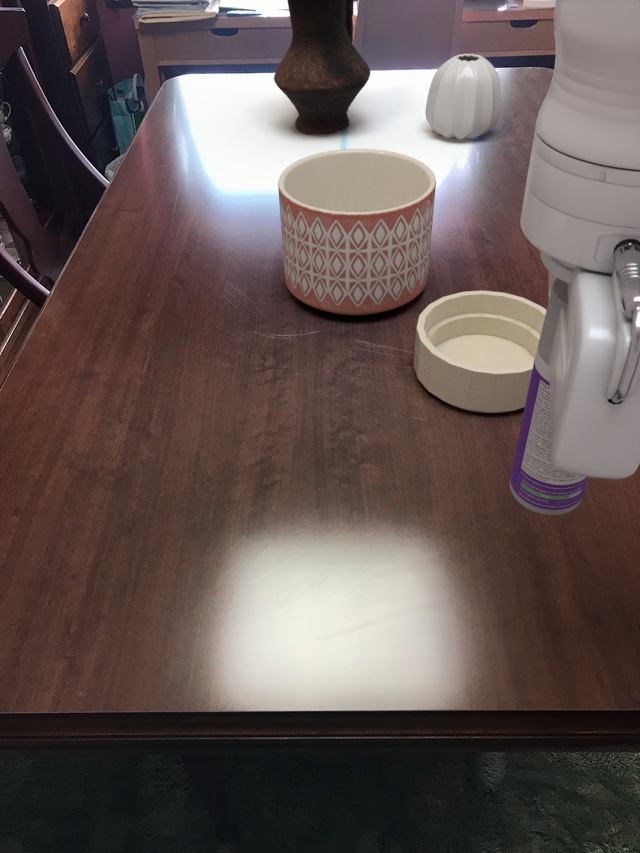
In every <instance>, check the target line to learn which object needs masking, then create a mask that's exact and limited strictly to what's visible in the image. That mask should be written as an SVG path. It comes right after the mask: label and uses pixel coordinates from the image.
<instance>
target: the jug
mask: <svg viewBox="0 0 640 853" xmlns="http://www.w3.org/2000/svg"><path fill="white" fill-rule="evenodd" d="M286 1H287V6H288V11H289V19H290V25H291V32H292V33H291V34H292V36H291V41H290V45H289V47H288V49H287V51H286V53H285V54H284V56H283V57H282V59H281V61H280V62H279V63H278V66H277V68H276V70H275V73H274V76H273V81H274V83H275V85H276V86H277V88H278V89H280V91H281V92H282V93H283V94H284V95H285V96H286V97H287V98H288V100H289V101H290V103H292V105H293V106H294V108H295V110H296V111H297V114H298V116H297V117H296V119H295V122H294V127H295V129H296V130H297V131H298V132H299V133H302V134H303V133H304V134H307V135H309V134H311V135H330V134H334V133H337V132H342V131H344V130H346V129H348V128H349V127H350V124H351V123H350V118H349V115H348V110H349V109H350V106H351V105H352V103H353V102H354V101H355V99H356V97H357V96H358V94H359V93H360V92H361V91H362V90H363V88H364V87H365V86H366V84H367V83H368V81H369V80H370V76H371V69H370V66H369V64H368V63H367V62H366V61H365V59H364V57H363V56H362V55H361V54H360V53H359V51H358V50H357V49H356V47H355V46H354V44H353V41H354V21H353V20H354V19H353V17H354V0H286Z"/></svg>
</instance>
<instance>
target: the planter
mask: <svg viewBox="0 0 640 853" xmlns="http://www.w3.org/2000/svg"><path fill="white" fill-rule="evenodd" d="M277 188H278V189H277V190H278V201H279V203H278V204H279V214H280V215H279V216H280V229H281V243H282V258H283V274H284V282H285V285H286V288H287V290H288V291H289V292H290V293H291V294H292V296H294V297H295V298H296V299H297V300H298V301H300V302H302V303H304V304H305V305H307V306H309V307H312V308H314V309H318V310H320V311H324V312H329V313H331V314H336V315H342V316H355V317H357V316H371V315H375V314H379V313H383V312H387V311H390V310H394V309H397V308H398V307H403V306H404V305H406V304H408V303H409V302H412V301H413V300H414V299H415V298H417V297H419V295H420V294H421V293H422V292H423V291H424V289H425V287H426V285H427V284H428V278H429V270H430V269H429V267H430V258H431V257H430V255H431V244H432V232H433V224H434V211H435V200H436V199H435V198H436V188H437V179H436V175H435V174H434V171H433V169H431V168H430V167H429V166H428V165H427V164H425V163H424V162H422V161H420V160H418V159H417V158H415V157H412V156H409V155H407V154H403V153H400V152H395V151H390V150H382V149H376V148H347V149H346V148H345V149H335V150H334V149H333V150H328V151H323V152H319V153H315V154H312V155H309V156H305V157H302V158H299V159H298V160H296V161H294V162H293V163H291V164H289V165H288V166H287V167H286V168H284V170H282V172H281V173H280V175H279V177H278V181H277Z"/></svg>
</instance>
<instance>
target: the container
mask: <svg viewBox="0 0 640 853" xmlns="http://www.w3.org/2000/svg"><path fill="white" fill-rule="evenodd" d="M561 307H563V308H565V309H567V307H568V295H567V283H566V282H564V281H562V280H560V279H559V278H556V280H555V281H554V283H553V286H552V290H551V294H550V298H549V297H548V303H547V306H546V310H547V311H546V315H545V319H544V323H543V327H542V331H541V336H540V340H539V344H538V348H537V352H536V356H535V360H534V365H533V370H532V374H531V379H530V384H529V389H528V394H527V399H526V403H525V407H523V414H522V418H521V423H520V429H519V432H518V438H517V443H516V448H515V452H514V457H513V462H512V466H511V472H510V478H509V490H510V492H511V495H512V496H513V497H514V499H515V500H516V501H517V502H518V503H519V504H520V505H522V506H523V507H524V508H525V509H528V510H530V511H532V512H535V513H537V514H542V515H548V516H559V515H565V514H567V513H569V512H572V511H573V510H575V509H576V508H577V507H579V505H580V504H581V502H582V500H583V497H584V494H585V491H586V488H587V485H588V482H589V479H590V477H586V476H580V475H575V474H569V473H564V472H560V471H558V470H556V469H555V468H554V467H553V466H552V464H551V459H550V371H549V356H550V352H551V348H552V344H553V340H554V336H555V332H556V328H557V324H558V320H559V315H560V311H561Z"/></svg>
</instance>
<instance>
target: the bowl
mask: <svg viewBox="0 0 640 853" xmlns="http://www.w3.org/2000/svg"><path fill="white" fill-rule="evenodd" d="M546 311H547V308H545V307H543V306H542V305H539V304H537V303H535V302H533V301H531V300H530V299H527V298H525V297H522V296H519V295H515V294H512V293H507V292H502V291H492V290H471V291H461V292H460V291H459V292H456V293H453V294H448V295H445V296H442V297H440V298H438V299H437V300H436V299H435V300H434V301H433V302H431V303H429V304H428V305H427V306H426V307H425V308H424V309H423V311H422V312H420V314H419V316H418V319H417V324H416V328H415V342H414V353H413V354H414V355H413V367H414V372H415V375H416V378H417V379H418V381H420V383H421V384H422V385H423V387H424V388H425V389H426V391H427V392H429V393H431V394H432V395H433V396H435V397H436V398H438V399H439V400H441V401H443V402H444V403H447V404H449V405H450V406H453V407H455V408H459V409H462V410H466V411H468V412H475V413H483V414H496V413H497V414H500V413H501V414H502V413H508V412H512V411H517V410H519V409H524V408H525V403H526V399H527V394H528V389H529V384H530V379H531V374H532V370H533V365H534V360H535V356H536V352H537V348H538V344H539V340H540V336H541V331H542V327H543V323H544V319H545V315H546Z"/></svg>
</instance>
